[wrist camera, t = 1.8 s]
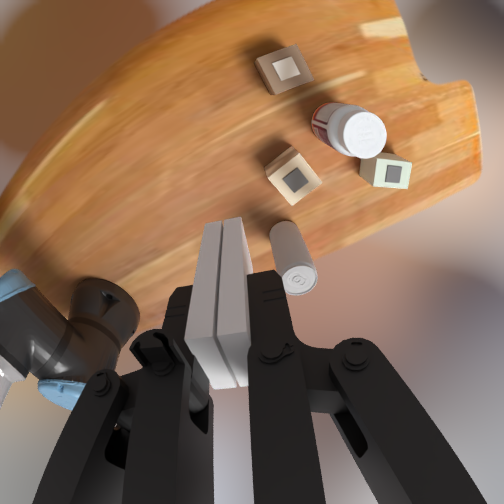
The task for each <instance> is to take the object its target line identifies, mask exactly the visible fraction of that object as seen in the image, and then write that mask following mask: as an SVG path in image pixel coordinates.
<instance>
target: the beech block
mask: <svg viewBox="0 0 504 504" xmlns="http://www.w3.org/2000/svg"><path fill="white" fill-rule="evenodd" d="M264 170H265V172H266V175H267V178H268V179H269V180H270V181H271V182H272V184H273V185H274V186H275V187H276V188H277V189H278V190H279V192H280V193H281V194H282V195H283V196H284V197H285V198H286V200H287V201H288V202H289V203H290V204H291V205H292V206H293V205H294V204H295V203H297V202H298V201H299V200H301V199H302V198H303V197H304V196H306V195H307V194H308V193H310V192H311V191H312V190H314V189H315V188H316V187H318V186H319V185H320V184H322V182H321V180H320V179H319V178H318V176H317V175H316V174H315V172H314V171H313V170H312V168H311V167H310V166H309V165H308V163H307V162H306V161H305V159H304V158H303V157H302V156H301V154H300V153H299V152H298V151H297V150H296V149H295V148H294V147H293V146H291V147H289V148H288V149H287V150H286V151H284V152H283V153H282V154H280V155H279V156H278V157H277V158H275V159H274V160H273V161H272V162H270V163H269V164H268V165H267V166H265V167H264Z"/></svg>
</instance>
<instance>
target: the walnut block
mask: <svg viewBox="0 0 504 504" xmlns="http://www.w3.org/2000/svg"><path fill="white" fill-rule="evenodd" d="M254 64H255V66H256V68H257V70H258V72H259V74H260V75H261V77H262V79H263V81H264V83H265V85H266V87H267V89H268V91H269V93H270V95H277V94H279V93H281V92H284V91H287V90H289V89H292V88H294V87H297V86H300V85H303V84H305V83H308V82H311V81H314V78H313V76H312V74H311V72H310V70H309V68H308V66H307V64H306V62H305V60H304V58H303V56H302V54H301V52H300V50H299V48H298V46H297V44H295V45H292V46H289V47H286V48H283V49H280V50H277V51H274V52H272V53H269V54H266V55H264V56H261V57H259V58H257V59H256V60H255V62H254Z"/></svg>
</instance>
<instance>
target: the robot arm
mask: <svg viewBox="0 0 504 504" xmlns="http://www.w3.org/2000/svg"><path fill="white" fill-rule="evenodd" d="M139 320H140V313H139V309H138V307H137V305H136V303H135V302H134V300H133V299H132V298H131V297H130V295H129V294H127V293H126V292H125V291H124V290H123V289H121V288H120V287H118V286H117V285H115V284H113V283H111V282H108V281H105V280H101V279H88V280H84V281H82V282H81V283H80V284H79V285H78V286H77V287H76V289H75V291H74V292H73V294H72V297H71V306H70V312H69V317H68V320H67V319H66V318H65V317H64V316H63V315H62V314H61V313H60V312H59V311H58V310H57V309H56V308H55V307H54V306H53V305H52V304H51V303H50V302H49V301H48V300H47V299H46V298H45V297H44V295H43V294H42V293H41V292H40V291H39V290H38V289H37V287H36V285H35V284H34V283H32V282H31V281H30V280H29V279H28V278H27V277H26V276H25V275H24V273H23V272H22V271H20V270H19V269H11V270H9V271H8V272H6V273H5V274H4V275H3V276H1V277H0V408H1V406H2V404H3V402H4V399H5V397H6V395H7V393H8V391H9V389H10V387H11V385H12V383H14V382H17V381H24V380H25V379H26V377H27V375H28V373H29V372H31V373H32V374H33V375H34V376H35V377H37V378H38V379H39V381H38V390H39V392H40V393H41V394H42V395H43V396H44V397H45V398H47V399H48V400H50V401H51V402H53V403H55V404H57V405H59V406H61V407H64V408H66V409H69V410H72V412H71V414H70V416H69V418H68V420H67V422H66V424H65V426H64V428H63V431H62V433H61V435H60V437H59V439H58V441H57V443H56V446H55V448H54V450H53V452H52V455H51V457H50V459H49V462H48V464H47V467H46V469H45V471H44V474H43V477H42V479H41V481H40V484H39V487H38V489H37V493H36V495H35V498H34V501H33V503H32V504H214V475H213V474H214V473H213V407H214V405H213V400H212V398H211V397H210V395H209V382H210V384H211V386H212V387H213V389H225V388H235V387H237V386H236V379H237V381H238V383H239V385H240V387H243V386H248V390H249V411H250V432H251V452H252V471H253V489H254V504H326V501H325V495H324V488H323V482H322V476H321V469H320V463H319V457H318V451H317V445H316V439H315V433H314V428H313V422H312V416H311V412H318V413H329V414H330V416H331V418H332V419H333V421H334V423H335V425H336V427H337V429H338V431H339V432H340V434H341V436H342V438H343V440H344V442H345V443H346V445H347V447H348V449H349V451H350V453H351V454H352V456H353V458H354V460H355V462H356V464H357V465H358V467H359V469H360V471H361V473H362V474H363V476H364V478H365V480H366V482H367V483H368V485H369V487H370V489H371V491H372V493H373V494H374V496H375V498H376V500H377V502H378V503H379V504H487V503H486V501H485V499H484V498H483V496H482V494H481V493H480V491H479V489H478V488H477V486H476V485H475V483H474V481H473V480H472V478H471V477H470V475H469V474H468V472H467V470H466V469H465V467H464V466H463V464H462V463H461V461H460V460H459V458H458V457H457V455H456V454H455V452H454V451H453V449H452V448H451V446H450V445H449V443H448V442H447V441H446V439H445V438H444V436H443V435H442V433H441V432H440V430H439V429H438V428H437V426H436V425H435V423H434V422H433V420H431V418H430V416H429V415H428V414H427V412H426V411H425V409H424V408H423V407H422V405H421V404H420V403H419V401H418V400H417V398H416V397H415V395H414V394H413V393H412V391H411V390H410V389H409V387H408V386H407V385H406V383H405V382H404V381H403V380H402V378H401V377H400V375H399V374H398V373H397V371H396V370H395V369H394V367H393V366H392V365H391V364H390V362H389V361H388V360H387V358H386V357H385V356H384V354H383V353H382V352H381V351H380V350H379V348H378V347H377V346H376V345H375V344H373V343H372V342H371V341H369V340H366V339H363V338H350V339H347V340H343V341H342V342H340V343H339V344H337V345H336V346H335V347H334V349H324V348H315V347H311V346H308V345H306V344H304V343H302V342H301V341H300V340H299V339H298V338H297V337H296V335H295V333H294V330H293V326H292V321H291V317H290V312H289V307H288V303H287V299H286V294H285V290H284V285H283V280H282V277H281V276H280V275H279V274H278V273H277V272H276V271H275V270H269V271H264V272H259V273H253V268H252V263H251V258H250V254H249V249H248V245H247V241H246V236H245V232H244V228H243V223H242V219H241V217H236V218H231V219H226V220H224V228H223V224H222V220H221V221H216V222H211V223H206V224H205V227H204V232H203V237H202V242H201V247H200V252H199V257H198V262H197V267H196V273H195V278H194V284H193V285H190V286H184V287H177V288H176V290H175V291H174V292H173V294H172V295H171V296H170V298H169V302H168V306H167V310H166V314H165V319H164V322H163V326H162V329H152V330H149V331H146V332H144V333H142V334H141V335H139V336H138V337H137V338H136V339H135V340H134V341H133V342H132V344H131V346H130V348H129V349H130V351H131V352H132V353H133V355H134V356H135V357H136V359H137V360H138V361H139V363H140V364H141V365H142V366H143V368H142V369H140V370H137V371H135V372H132V373H129V374H126V375H122V376H119V375H118V374H117V373H116V372H115V368H116V364H117V361H118V358H119V354H120V351H121V348H122V347H123V346H124V345H125V344H126V343H127V341H128V340H129V338H130V337H131V336H132V335H133V334H134V333H135V332H136V330H137V327H138V324H139ZM116 424H117V425H116ZM115 425H116V427H115Z"/></svg>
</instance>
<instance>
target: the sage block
mask: <svg viewBox="0 0 504 504" xmlns="http://www.w3.org/2000/svg"><path fill="white" fill-rule="evenodd" d="M411 166H412V162H410V161H408V160H406V159H404V158H402V157H400V156H398V155H396V154H390V153H382V152H380V153H379V154H377V155H376V156H374V157H372V158H367V159H363V158H361V164H360V172H359V176H360V177H362V178H363V179H364V180H366V181H367V182H368V183H369V184H371V185H372V186H374V187H390V188H403V189H408V184H409V178H410V172H411Z"/></svg>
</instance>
